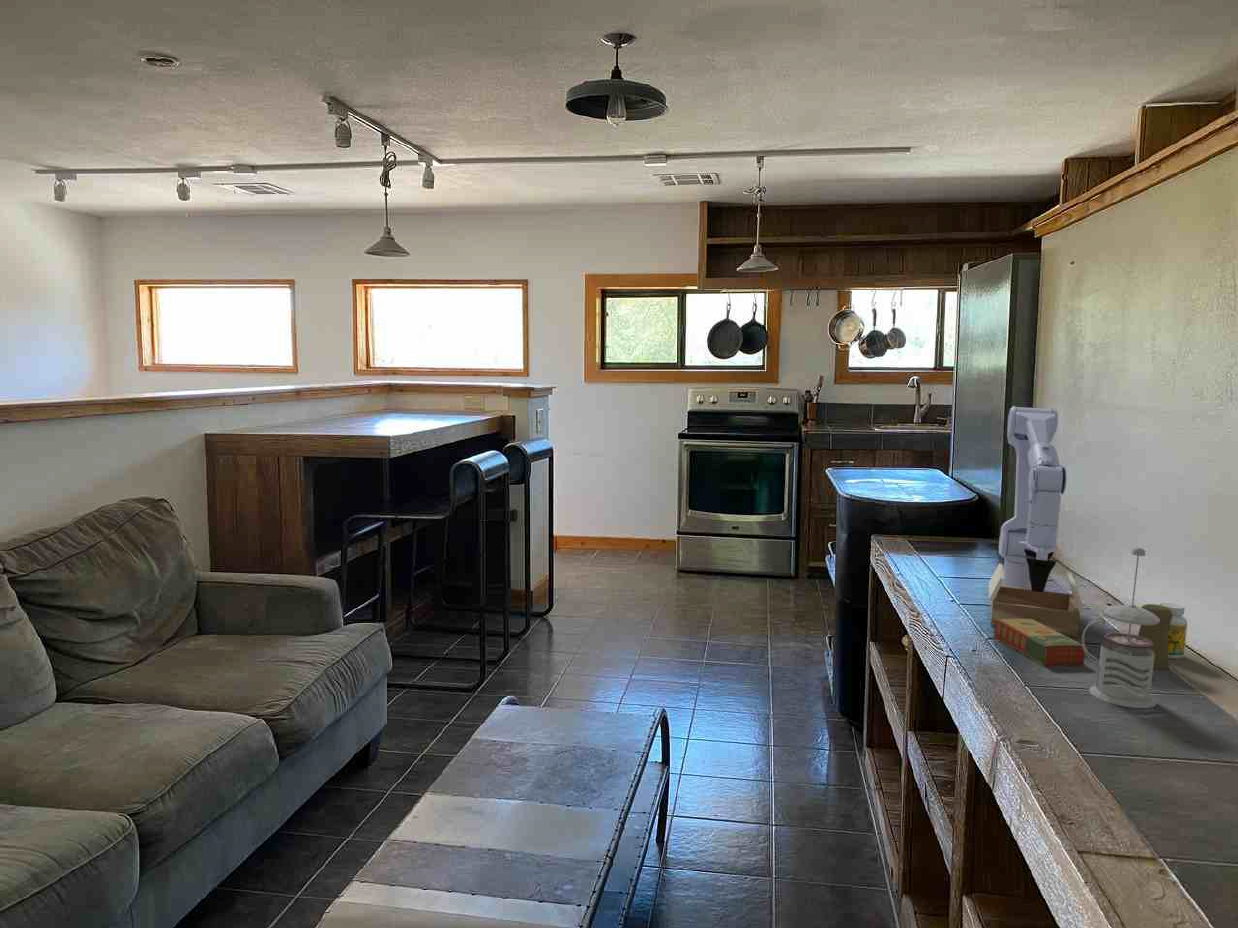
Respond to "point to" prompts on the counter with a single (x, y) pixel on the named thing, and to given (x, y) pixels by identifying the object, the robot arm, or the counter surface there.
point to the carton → (1039, 642)
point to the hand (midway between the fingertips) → (1036, 587)
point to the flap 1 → (996, 582)
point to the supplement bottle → (1176, 631)
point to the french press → (1125, 657)
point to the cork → (1158, 635)
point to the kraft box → (1037, 608)
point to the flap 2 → (1075, 592)
